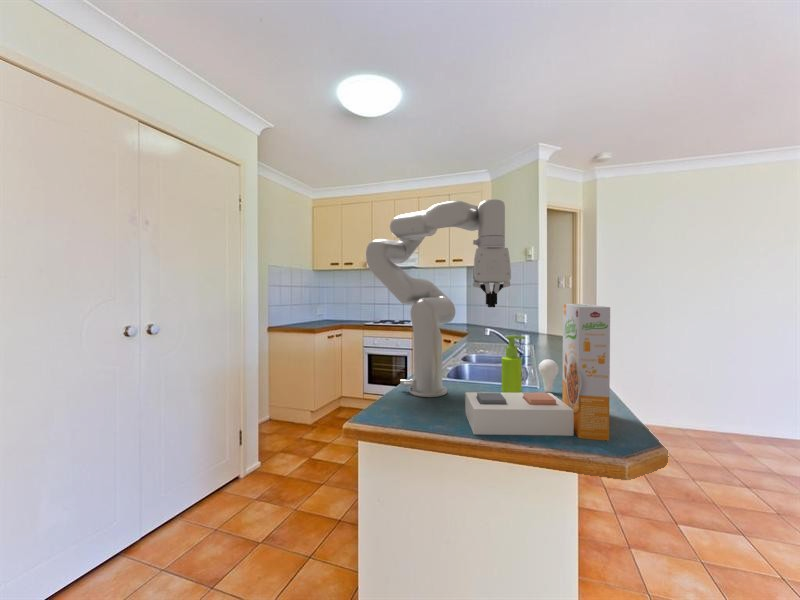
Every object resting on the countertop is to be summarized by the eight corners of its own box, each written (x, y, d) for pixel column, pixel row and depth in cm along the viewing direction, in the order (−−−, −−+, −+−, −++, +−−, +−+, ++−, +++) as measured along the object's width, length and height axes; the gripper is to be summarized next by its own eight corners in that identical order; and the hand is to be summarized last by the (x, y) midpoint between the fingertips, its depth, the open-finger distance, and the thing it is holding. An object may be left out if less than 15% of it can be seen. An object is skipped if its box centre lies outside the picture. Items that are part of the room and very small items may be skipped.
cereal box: (562, 407, 103) (563, 303, 103) (586, 409, 101) (587, 303, 101) (578, 437, 82) (579, 307, 81) (609, 440, 80) (610, 307, 79)
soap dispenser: (526, 403, 106) (526, 337, 106) (502, 402, 108) (502, 336, 107) (523, 398, 112) (523, 334, 112) (500, 396, 114) (501, 334, 113)
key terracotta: (530, 415, 87) (530, 399, 87) (523, 407, 93) (523, 392, 93) (555, 416, 87) (555, 399, 87) (546, 408, 93) (546, 392, 93)
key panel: (473, 434, 84) (473, 409, 84) (465, 414, 98) (465, 392, 98) (573, 435, 83) (573, 410, 83) (550, 414, 97) (550, 392, 97)
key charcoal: (481, 415, 88) (481, 399, 87) (477, 407, 94) (477, 392, 93) (506, 416, 87) (506, 399, 87) (500, 408, 93) (500, 392, 93)
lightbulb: (550, 396, 114) (550, 361, 114) (534, 391, 120) (534, 358, 119) (562, 393, 117) (562, 360, 117) (546, 388, 123) (546, 357, 122)
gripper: (467, 242, 100) (467, 307, 100) (521, 241, 99) (521, 307, 100) (463, 245, 107) (463, 306, 108) (513, 245, 107) (513, 306, 107)
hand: (491, 306), depth 104 cm, fingers closed
